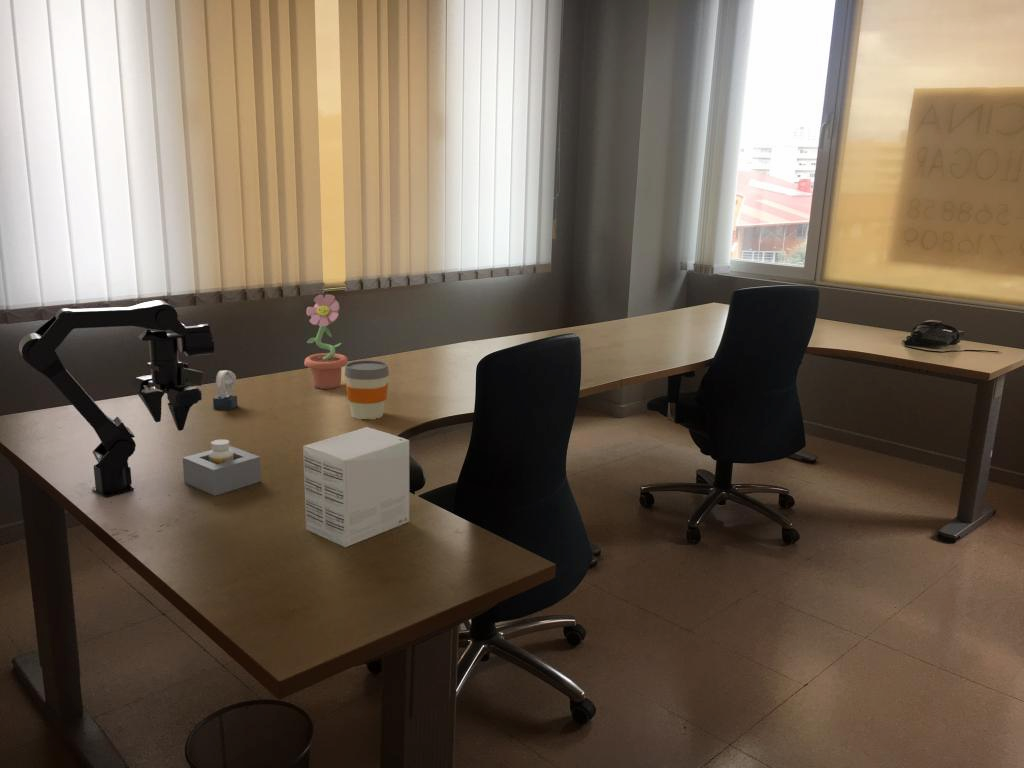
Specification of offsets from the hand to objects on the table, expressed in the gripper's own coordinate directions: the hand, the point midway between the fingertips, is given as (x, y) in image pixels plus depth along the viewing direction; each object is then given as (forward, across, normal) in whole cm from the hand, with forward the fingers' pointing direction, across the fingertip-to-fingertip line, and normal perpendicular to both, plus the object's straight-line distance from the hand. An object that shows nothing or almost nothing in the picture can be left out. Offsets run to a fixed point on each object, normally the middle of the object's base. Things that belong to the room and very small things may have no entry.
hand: (169, 426), depth 197 cm
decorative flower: (+13, +41, -79) cm, 90 cm away
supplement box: (+13, -50, -11) cm, 53 cm away
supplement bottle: (+13, -9, -7) cm, 17 cm away
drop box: (+13, -9, -7) cm, 17 cm away
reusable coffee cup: (+13, +7, -66) cm, 68 cm away
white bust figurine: (+13, +43, -43) cm, 62 cm away
